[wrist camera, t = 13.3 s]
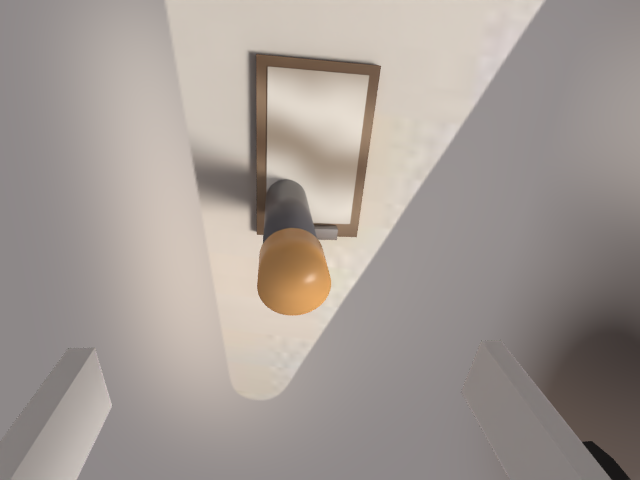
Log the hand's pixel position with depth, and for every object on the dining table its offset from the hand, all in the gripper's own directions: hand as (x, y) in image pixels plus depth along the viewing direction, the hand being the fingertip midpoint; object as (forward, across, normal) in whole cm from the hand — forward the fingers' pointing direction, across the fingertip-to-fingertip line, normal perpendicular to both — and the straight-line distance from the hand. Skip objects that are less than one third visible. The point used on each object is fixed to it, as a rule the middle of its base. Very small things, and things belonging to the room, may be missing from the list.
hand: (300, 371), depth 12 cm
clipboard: (+19, +2, +3) cm, 20 cm away
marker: (+19, 0, -1) cm, 19 cm away
